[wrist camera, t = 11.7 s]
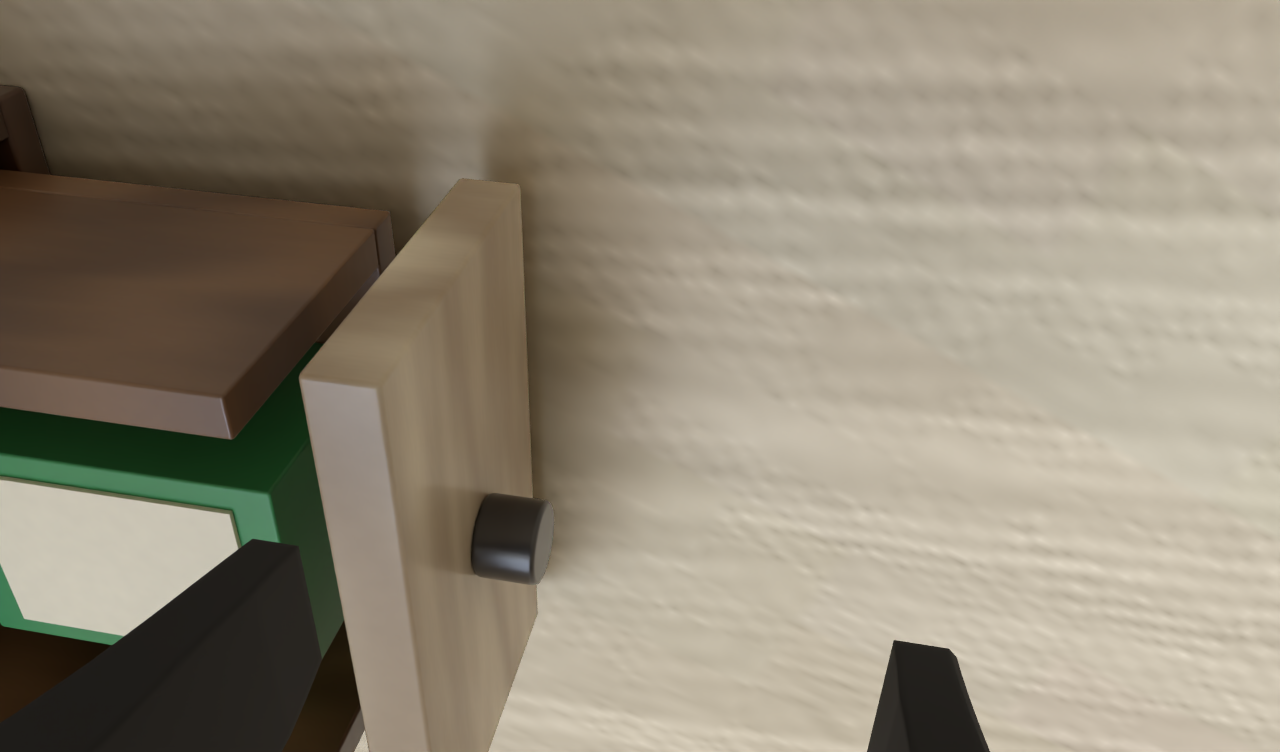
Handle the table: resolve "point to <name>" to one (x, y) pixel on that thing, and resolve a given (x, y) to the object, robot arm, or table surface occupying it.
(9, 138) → the cabinet
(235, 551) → the robot arm
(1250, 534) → the table surface
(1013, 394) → the table surface
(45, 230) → the drawer
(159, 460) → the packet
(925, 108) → the table surface
